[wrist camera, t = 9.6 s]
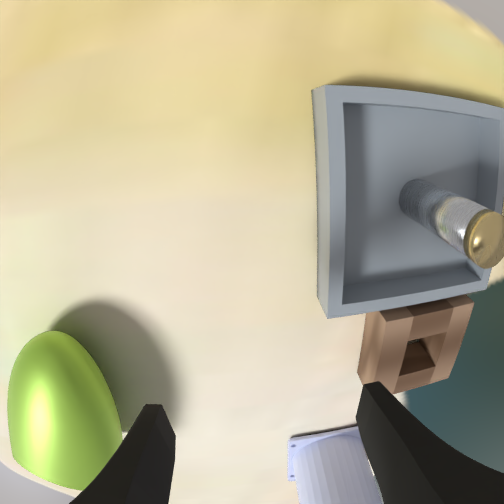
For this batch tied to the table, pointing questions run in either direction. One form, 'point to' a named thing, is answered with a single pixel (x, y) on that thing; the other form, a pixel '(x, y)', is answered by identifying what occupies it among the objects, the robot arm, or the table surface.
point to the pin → (455, 221)
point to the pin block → (416, 354)
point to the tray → (397, 193)
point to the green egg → (61, 412)
